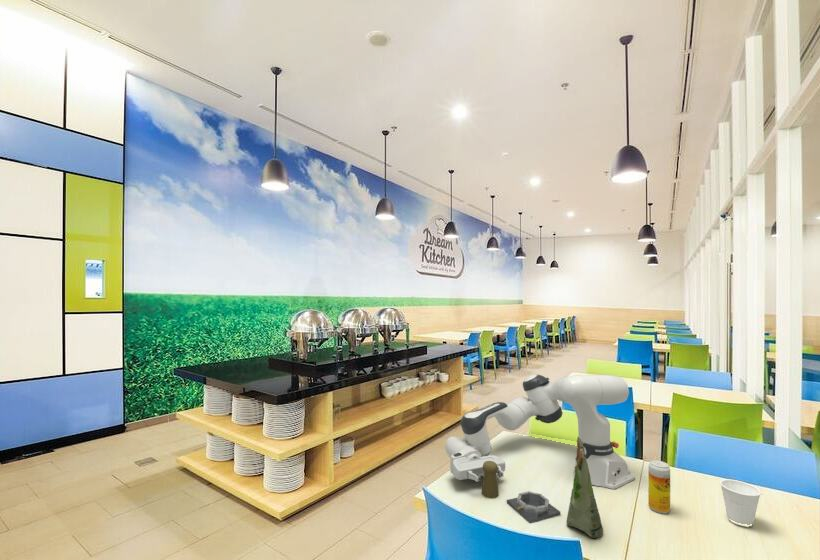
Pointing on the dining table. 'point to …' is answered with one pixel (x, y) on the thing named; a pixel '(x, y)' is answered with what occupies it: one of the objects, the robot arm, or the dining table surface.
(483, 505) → the dining table surface
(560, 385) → the robot arm
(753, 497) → the cup
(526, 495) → the hub socket
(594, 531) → the pouch
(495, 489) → the cork
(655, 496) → the pill bottle
